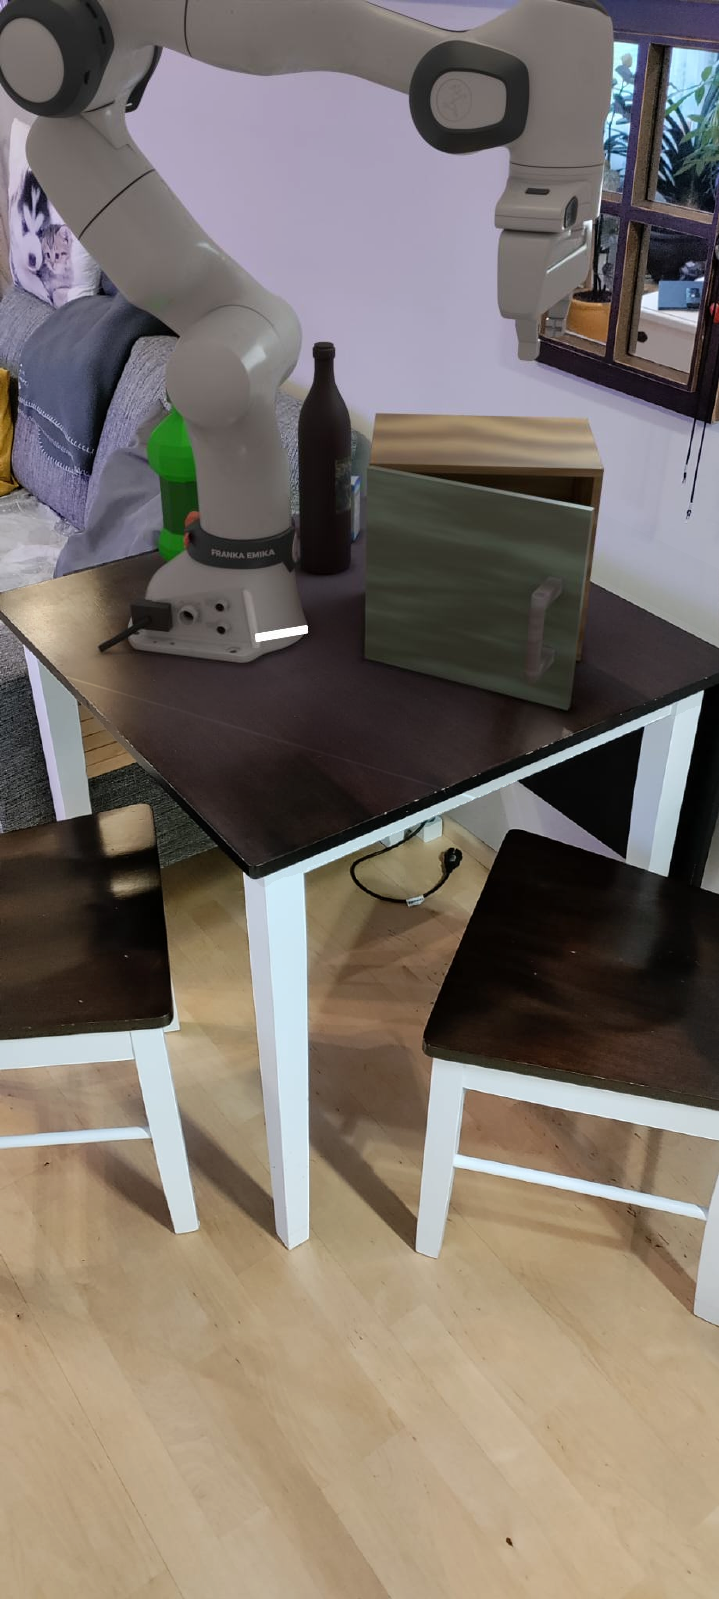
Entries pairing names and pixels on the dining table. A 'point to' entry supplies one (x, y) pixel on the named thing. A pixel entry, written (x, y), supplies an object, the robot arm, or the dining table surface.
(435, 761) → the dining table surface
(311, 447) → the wine bottle
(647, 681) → the dining table surface
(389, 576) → the door
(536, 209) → the robot arm
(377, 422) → the cupboard
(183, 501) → the plastic bottle
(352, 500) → the medicine box
